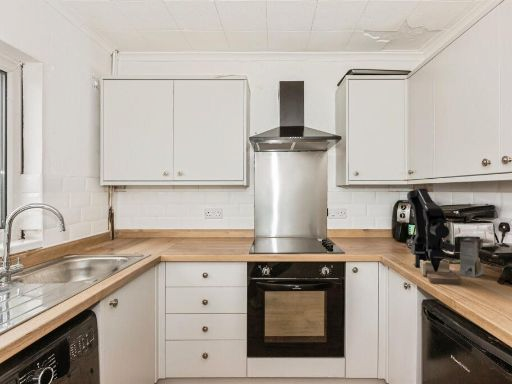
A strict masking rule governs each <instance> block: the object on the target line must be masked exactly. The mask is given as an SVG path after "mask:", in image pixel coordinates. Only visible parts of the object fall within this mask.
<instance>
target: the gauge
mask: <svg viewBox="0 0 512 384" xmlns="http://www.w3.org/2000/svg"><path fill="white" fill-rule="evenodd" d="M419 271H420V272H419V273H421V275H422V276H424V277H426V271H431V272H435V271H434V269H433V266H432V264H431V261H423V260H420V267H419ZM437 272H450V262H448V261H440V264H439V268H438V271H437Z"/></svg>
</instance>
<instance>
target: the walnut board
mask: <svg viewBox="0 0 512 384" xmlns="http://www.w3.org/2000/svg"><path fill="white" fill-rule="evenodd" d="M425 277H426V278H427V280H428V281H429V283H430V284H441V285H442V284H445V285H446V284H447V285H458V284H459V285H460V286H461V280H460V278H459V277H458V276H457V275H456V274H455V272H453V271H452V270H450V272H431V271H426V276H425Z"/></svg>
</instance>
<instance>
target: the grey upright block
mask: <svg viewBox="0 0 512 384" xmlns="http://www.w3.org/2000/svg"><path fill="white" fill-rule="evenodd" d="M483 245H484V244H483V239H481V238H474V237H466V238H462V239H460V240H459V263H460V264H459V267H460V268H459V270H460V271H459V274H460V276H465V277H470V278H473V279H474V278H478V277H479V276H482V275H483V274H484V262H483V263H481V262H480V258H479V250H480V249H481V248H482V247H483Z"/></svg>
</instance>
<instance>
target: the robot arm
mask: <svg viewBox="0 0 512 384" xmlns="http://www.w3.org/2000/svg"><path fill="white" fill-rule="evenodd" d="M406 198H407V201H408V204H409V205H410V207H412V211H413V220H414V221H413V222H414V227H415V229H414V230H415V236H414V239H413V240H412V241H413V243H412V245H411V249H410V251H411V252H410V253H411V254H412V255H413V256H415V257H414V263H413V266H414V267H415V268H420V260H423V261H431V264H432V266H433V269H434V271H435V272H437V271H438V268H439V264H440V262H442V261H443V260H444V259H445V258H446V257H447V255H446V252H445V251H449V252H451V253H454V251H455V248H456V245H455V244H454V243H451V241H450V240H449V239H446V238H447V237H448V236H449V235H450V230H449V228H448V226H447V225H446V224H447V217H446V214H445V212H444V210H443V208H442V207H441V206H440V205H439V204H436V203H434V200H433V199H432V197H431V195H430V194H429V191H428V188H421V187H420V188H415V189H413V190H409V191H408V192H407V195H406ZM443 239H445V240H443Z"/></svg>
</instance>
